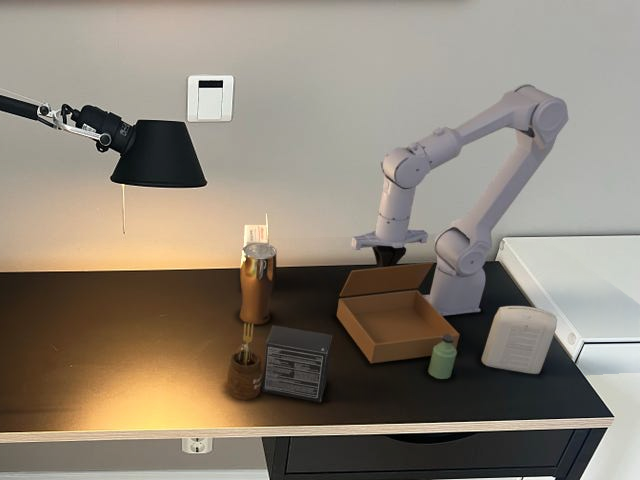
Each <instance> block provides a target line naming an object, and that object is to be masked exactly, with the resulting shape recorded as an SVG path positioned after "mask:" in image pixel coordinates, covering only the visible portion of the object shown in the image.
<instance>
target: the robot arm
mask: <svg viewBox="0 0 640 480" xmlns="http://www.w3.org/2000/svg"><path fill="white" fill-rule="evenodd" d="M569 120H570V119H569V112H568V106H567V103H566V101H565V100H564V99H563V98H560V97H558V96H554V95H553V94H552V95H551V94H550V93H548V92H546V91H543V90H540V89H539V88H537V87H535V86H534V85H532V84H530V83H529V84H528V83H525V84H520V85H518V86H516V87H514V89H513V90H510V91H506V92H505V93H503V95H502V96H501V97H500V100H499V101H497V102H496V103H494V104H492V105H491V106H489V107H488V108H486V109H484V110H483V111H481V112H479V113H478V114H476V115H474V116H473V117H472V118H471V117H470V119H468V120H466V121H465V122H463V123H461V124H460V125H459V126H457V127H455V128H450V127H445V126H444V127H437V128H435V129H433V130H432V133H430V134H429V135H427V136H425V137H423V138H421V139H419V140H417V141H416V142H411V143H409V144H408V146H406V147H403V146H402V147H401V146H400V147H399V146H398V147H396V148H392V149H391V150H390V151H388V153H387V154H386V155H385V157H384V159H383V161H381V162H380V163H379V164H380V165H379V166H380V167H379V168H380V171H381V172H382V174H383V185H382V186H383V187H382V191H381V197H380V203H379V210H378V215H377V220H376V227H375V230H373V231H370V232H367V233H363V234H361V235H357V236H355V235H354V236H352V239H351V248H353V250H354V251H360V250H361V249H364V248H372V251H373V255H374V258H375V262H376V268H381V267H390V266H397V264H398V263H399V262H400V260H401V259H402V258H403V257H404V256H406V253H407V248H406V247H405V245H406V244H415V243H420V244H427V242H428V237H429V233H428V232H426V231H425V230H424V229H409V224H410V220H411V214H412V209H413V204H414V199H415V194H416V189H417V186H419V185H420V184H421V183H422V182H423V181H424V179H425V177H426V176H427V175H428V174H430V172H431V171H432V170H435V169H436V168H438V167H440V166H442V165H444V164H446V163H447V162H450V161H452V160H453V159H455V158H458V156H459V155H460V154H461V151H462V149H463V147H465V146H466V145H469V144H471V143H473V142H475V141H478V140H480V139H482V138H484V137H486V136H489V135H491V134H493V133H495V132H498V131H499V130H502V129H504V128H508V129H514V130H515V135H516V140H517V145H515V148H514V149H513V150H512V152H510V154H509V156H508V157H507V158H506V160H505V161H504V163H503V164H502V166H501V167H500V169H499V170H498V171H497V173H496V174H495V176H494V177H493V178H492V179H491V181H490V182H489V184H488V185H487V186H486V188H485V189H484V191H483V192H482V193H481V195H480V196H479V197H478V199H477V200H476V202H475V203H474V205H473V206H472V207H471V209H470V210H469V211H468V213H467V214H466V216H464V217H460V218H456V219H453V220H452V221H451V223H450V224H449V225H448V226H447V228H445V229H444V230H442V231H441V232H440V233H439V234H438V235H437V236H436V237H435V239H434V242H433V250H434V252H435V254H437V257H436V261H437V262H436V267H435V271H434V274H433V280H432V284H431V288H430V292H429V294H422V295H423V296H424V298H425V299H426V300H427V301H428V302H429V303H430V304H431V305H432V306H433V307H434V308H435V309H436V310H437V311H438V312H439V313H440V314H441V315H442V316H443V317H444V316H453V315H462V314H470V313H480V312H481V308H479V307H480V304H481V301H482V296H483V293H484V289H485V285H486V273H485V270H484V267H483V266H484V265H485V264H486V262H487V261H486V260H487V256H488V255H489V253H490V251H491V250H492V249H493V239H492V231H493V229H494V228H495V227H496V226H497V224H498V223H499V221H500V220H501V218H502V217H503V216H504V215H505V213H506V212H507V211H508V209H509V208H510V207H511V206H512V204H513V203H514V201H515V200H516V199H517V198H518V196H519V194H520V193H521V192H522V190H523V189H524V188H525V186H526V185H527V184H528V182H529V181H530V179H531V178H533V176H534V174H535V173H536V172H537V171H538V169H539V167H540V166H541V165H542V164H543V162H544V161H545V159H546V158H547V157H548V155H549V154H550V153H551V151H552V149H553V148H554V146H555V143H556V140H557V137H558V135H559V134H560V133H561V131H562V130H563V128H564V127H565V126H566V124H567V123H568V122H569Z"/></svg>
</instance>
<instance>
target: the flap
mask: <svg viewBox="0 0 640 480" xmlns="http://www.w3.org/2000/svg"><path fill="white" fill-rule="evenodd" d="M433 265H434V261H428V262H420V263H411V264H401V265H400V264H399V265H396V266H390V267H381V268H377V267H373V268H372V267H371V268H364V269H363V268H362V269H355V270H354V269H353V270H351V271H350V273H349V275H348V277H347V279H346V282H345V283H344V286H343V288H342V290H341V292H340V293H339V297H349V296H350V297H351V296H357V295H358V296H360V295H367V294H375V293H376V294H377V293H387V292H392V291H394V292H396V291H402V290H404V291H405V290H411V289H418V288H419V287H420V285H422V283H423V281H424V280H425V278H426V276H427V274H428V273H429V272H430V270H431V268H432V267H433Z"/></svg>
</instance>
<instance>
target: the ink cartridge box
mask: <svg viewBox="0 0 640 480" xmlns="http://www.w3.org/2000/svg"><path fill="white" fill-rule="evenodd" d="M268 217H269V216H268V212H266V213H265V219H266V220H265V221H266V222H265V223H266V224H245V225H244V236H243V237H244V239H243V240H244V241H243V248H244V247H245V246H246V245H248V244H252V243H264V244H268V245H270V234H269V229H270V228H269V218H268Z"/></svg>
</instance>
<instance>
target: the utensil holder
mask: <svg viewBox="0 0 640 480" xmlns="http://www.w3.org/2000/svg"><path fill="white" fill-rule="evenodd" d="M250 328H251V329H250ZM246 333H247V334H246ZM253 335H254V325H253V324H248V323H245V322H244V326H243V336H242V337H243V338H242V341H244V342H245V344H241V345H240V347H239V348H238V349H237V351H236V352H234V353H233V354H232V355H231V357H230V364H229V365H228V369H227V380H226V381H227V384H226V386H227V387H226V388H227V392H228V394H229V395H230V396H231V397H232V398H234V399H237V400H240V401H241V400H243V401H246V400H253V399H255V398H257V397H258V396H259V394H260V392H261V390H262V382H263V380H262V379H263V369H262V360H261V357H260V355H259V354H258V353H256V352H255V351H253V350H250V349H251V346H249V343H251V342H252V341H253V337H254V336H253ZM243 348H244V350H243Z"/></svg>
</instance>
